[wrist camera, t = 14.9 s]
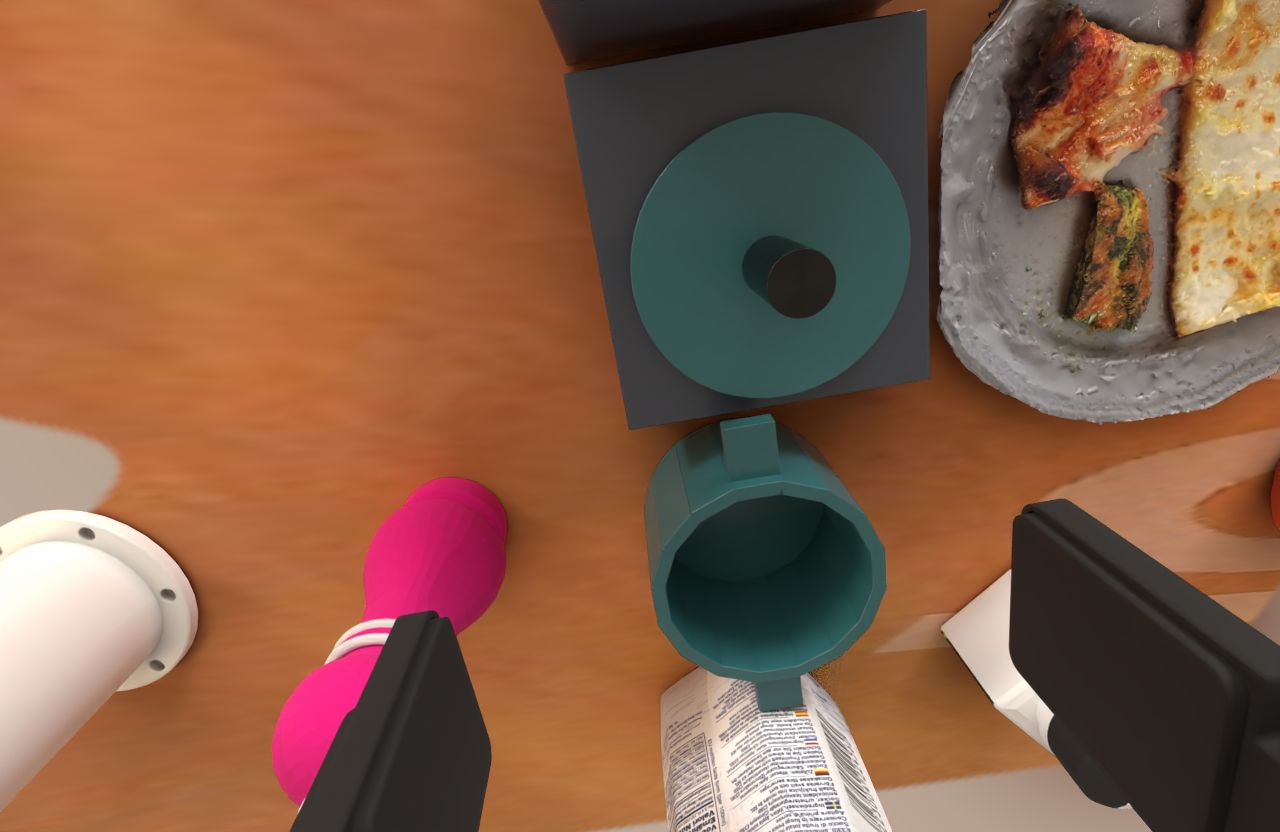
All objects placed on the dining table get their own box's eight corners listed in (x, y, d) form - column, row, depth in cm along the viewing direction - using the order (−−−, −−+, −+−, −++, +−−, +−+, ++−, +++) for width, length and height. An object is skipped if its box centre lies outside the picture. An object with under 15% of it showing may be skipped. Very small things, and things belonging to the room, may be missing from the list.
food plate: (924, -70, 30) (963, -100, 27) (1436, -149, 30) (1539, -189, 26) (919, 433, 39) (947, 457, 35) (1314, 375, 38) (1380, 394, 35)
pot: (666, 631, 43) (679, 736, 35) (622, 391, 37) (625, 452, 29) (839, 603, 43) (891, 702, 35) (822, 357, 37) (880, 409, 29)
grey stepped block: (626, 397, 37) (634, 508, 25) (523, -169, 28) (456, -426, 16) (889, 353, 37) (1025, 442, 25) (871, -234, 28) (1072, -548, 16)
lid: (652, 411, 32) (661, 462, 27) (607, 141, 28) (605, 133, 22) (903, 368, 32) (967, 411, 26) (897, 89, 28) (971, 68, 22)
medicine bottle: (935, 626, 44) (1047, 784, 33) (1021, 555, 42) (1170, 696, 31) (1001, 680, 46) (1128, 847, 34) (1085, 614, 44) (1248, 767, 33)
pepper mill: (540, 537, 40) (477, 857, 21) (445, 592, 41) (307, 943, 23) (467, 446, 38) (325, 716, 19) (369, 507, 39) (145, 819, 20)
